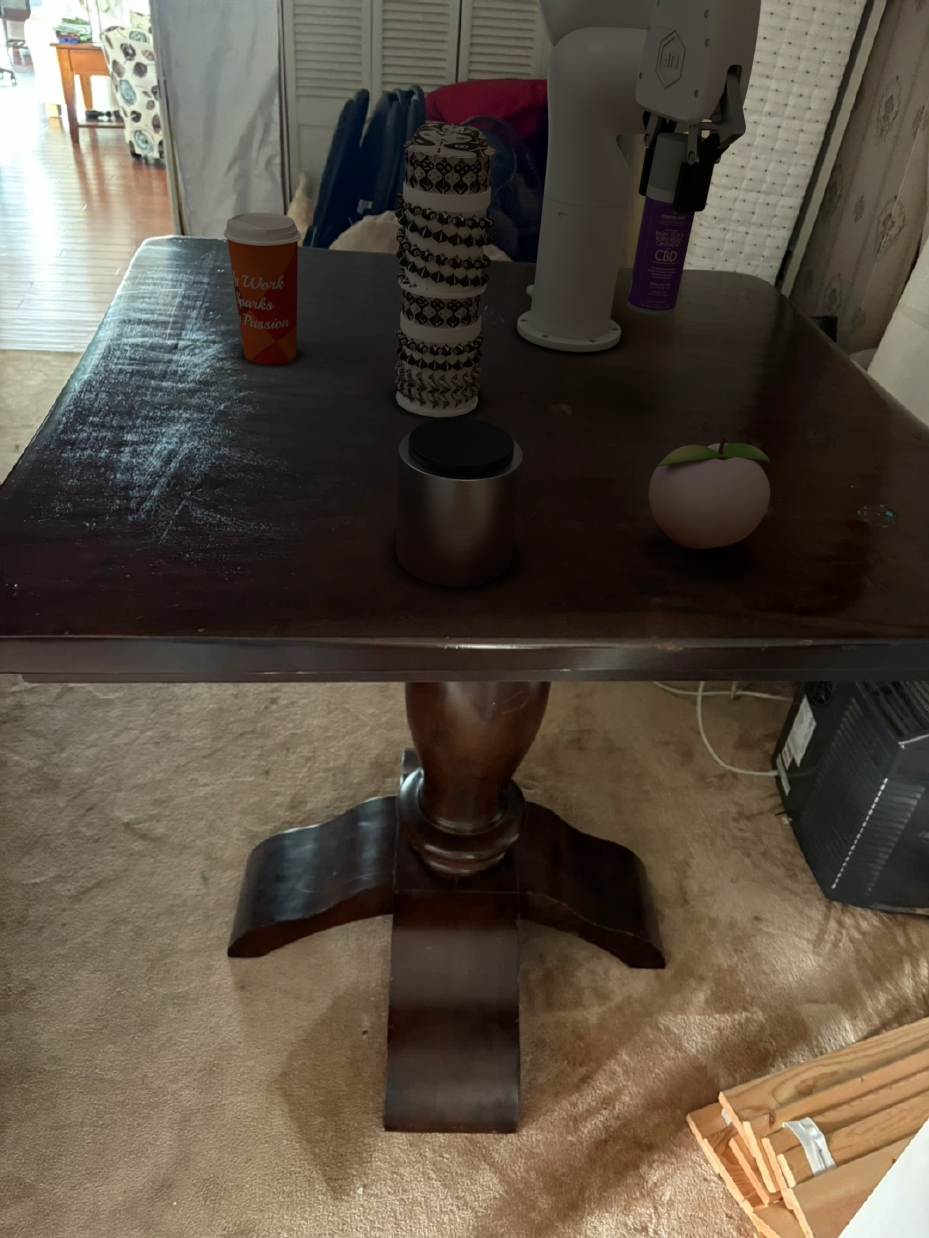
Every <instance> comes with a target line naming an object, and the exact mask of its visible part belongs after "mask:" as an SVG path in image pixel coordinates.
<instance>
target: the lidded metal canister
mask: <svg viewBox="0 0 929 1238" xmlns="http://www.w3.org/2000/svg"><path fill="white" fill-rule="evenodd" d="M397 457H398V460H397V461H398V462H397V500H396V501H397V503H396V504H397V506H396V507H397V508H396V547H395V548H396V551H395V552H396V558H397V561H398V562H399V564H400V566H401V567H402V568H403V570H405V571H406V572H407V573H408V574H410V575H411V576H413V577H415V578H417V579H418V580H421V581H423V582H425V583H428V584H429V583H430V584H432V585H437V586H441V587H447V588H450V587H451V588H469V587H476V586H480V585H484V584H488V583H490V582H492V581H495V580H497V579H498V578H499V577H501V576H502V575H504V574H505V573H506V572H507V570H508V569H509V568H510V565H511V563H512V560H513V559H512V558H513V549H514V541H515V533H516V522H517V515H518V514H517V513H518V505H519V495H520V488H521V478H522V469H523V461H524V452H523V450H522V448H521V446H520V444H518V442H517V441H515V439H513V437H512V436H511V434H510V433H509V432H508V431H506V429H504V428H502V427H500V426H498V425H496V424H494V423H491V422H489V421H484V420H482V419H476V418H472V417H471V418H469V417H461V416H459V417H458V416H454V417H439V418H435V419H431V420H427V421H424V422H422V423H420V424H419V425H417V426H415V427H414V428H413V429H412V430H411V431H410V432H409V433H408V434H406V435H405V436H403V438H402V439H401V440H400V442H399V444H398V456H397Z"/></svg>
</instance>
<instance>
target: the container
mask: <svg viewBox="0 0 929 1238" xmlns="http://www.w3.org/2000/svg"><path fill="white" fill-rule="evenodd" d="M706 138H707V137H704V136H702V141H701V143H702V142H703V141H704V140H705V139H706ZM687 148H688V133H687V132H685V133H675V132H666V133H660V134H658V137H657V142H656V147H655V152H654V157H653V162H652V167H651V172H650V177H649V182H648V187H647V192H646V196H644V202H643V203H644V204H643V209H642V215H641V220H640V225H639V230H638V231H639V232H638V238H637V243H636V249H635V255H634V260H633V261H634V262H633V266H632V271H631V276H630V282H629V287H628V294H627V301H626V306H627V307H628V309H629V310H631V311H633V312H635V313H638V314H642V315H645V316H652V317H664V316H669V315H671V314H674V312H675V309H676V305H677V300H678V295H679V291H680V285H681V282H682V276H683V272H684V267H685V262H686V257H687V253H688V248H689V242H690V238H691V233H692V229H693V225H694V219H695V214H696V212H684V213H677V212H675V211H674V210H673V201H674V196H675V191H676V186H677V181H678V176H679V171H680V166H681V162H687Z"/></svg>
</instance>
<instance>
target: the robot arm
mask: <svg viewBox="0 0 929 1238" xmlns="http://www.w3.org/2000/svg"><path fill="white" fill-rule="evenodd" d="M536 2H537V6H538V10H539V14H540V18H541V22H542V24H543V28H544V31H545V34H546V36H547V38H548V40H549V42H550V44H551V45H552V47H553V49H552V51H551V54H550V57H549V61H548V65H547V74H546V75H547V76H546V87H547V88H546V91H547V92H546V93H547V112H548V113H547V116H548V119H547V121H548V136H547V137H548V138H547V139H548V140H547V158H546V167H545V168H546V169H545V178H544V179H545V180H544V188H543V189H544V190H543V200H542V209H541V219H540V220H541V221H540V228H539V238H538V247H537V256H536V265H535V275H534V284H530V285H528V286H527V287H526V290H525V291H526V294H527V296H529V297H530V298H531V305H530V310H527V311H526V312H523V313H522V314H521V315H520V316H519V317H518V318H517V321H516V322H517V324H516V330H517V333H518V334H519V335H520V336H521V337H522V338H523V339H524V340H526V341H528V342H530V343H532V344H534V345H536V346H539V347H542V348H546V349H550V350H554V351H561V352H570V353H593V352H599V351H604V350H607V349H611V348H612V347H615V346H616V345H617V344H618V343H619V342H620V339H621V335H622V328H621V327H620V325H619V324H618V323H617V322H616V321H615V320H613V319H611V316H612V309H613V302H614V297H615V291H616V283H617V278H618V274H619V273H618V272H619V266H620V260H621V255H622V248H623V241H624V235H625V229H626V222H627V216H628V211H629V203H630V197H631V190H632V177H631V171H630V169H629V166H628V165H629V164H628V163H627V160H626V159H625V157H624V155H623V153H622V151H621V150H620V147H619V145H618V142H617V137H618V136H623V135H643V139H642V140H643V145H644V147H646V148H645V152H644V156H643V157H644V158H643V162H642V163H643V164H642V169H641V175H640V181H639V186H638V195H640V196H642V197H646V192H647V187H648V182H649V177H650V172H651V167H652V162H653V157H654V152H655V147H656V142H657V137H658V134H660V133H666V132H675V133H687V134H688V148H687V162H681V166H680V171H679V176H678V181H677V186H676V191H675V196H674V201H673V210H674V211H675V212H677V213H684V212H695V213H699V212H700V213H701V212H703V211H704V210H705V209H706V206H707V201H708V198H709V197H708V196H709V192H710V186H711V183H712V178H713V174H714V169H715V165H718V164H720V162H721V160H722V155H723V154H724V153H725V152H727V150H728V149H729V148H730V146H731V145H732V144H734V143H735V142H736V141H738V140H739V139H740V138H741V137H743V136H744V135H745V133H746V131H747V124H746V123H747V122H746V118H745V112H744V106H745V105H744V104H745V101H746V98H747V95H748V94H747V93H748V90H749V86H750V80H751V75H752V71H753V65H754V60H755V54H756V48H757V43H758V35H759V27H760V19H761V9H762V0H536ZM704 120H706V121H704ZM707 120H709V121H707ZM708 131H709V132H708ZM703 132H708V135H707V136H706V137H705V138H706V139H705V140H704V141H703V142H702V143H701V141H702V137H703Z"/></svg>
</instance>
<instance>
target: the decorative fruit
mask: <svg viewBox="0 0 929 1238" xmlns="http://www.w3.org/2000/svg"><path fill="white" fill-rule="evenodd" d="M759 461H763V462H765V463H767V464H771V460H770V458H769V457H768V455H767V454H766V453H764V451H762V450H761V449H760V448H758V447H756V446H754V445H751V444H748V443H742V442H734V443H733V442H731V443H727V435H725V434H723V435H722V436H721V438H720V442H718V443H713V444H710V445H707V446H705V445H700V444H687V445H684V446H680V447H678V448H677V449H673V451H671V452H670V453H668V454H667V455H666V456H665V457H664V458H663V459H662V460H661V461H660V463H658V465H657V466H656V468H655V469H654V471H653V473H652V475H651V477H650V481H649V484H648V504H649V508H650V512H651V514H652V516H653V518H654V520H655V522H656V524H657V526H658V527H659V529H661V531H662V532H663V533H664V534H665V535H666V536H667V537H668V538H669V539H670V540H671V541H673V542H674V543H676V544H678V545H680V546H682V547H685V548H689V549H693V550H705V549H706V550H707V549H713V548H721V547H722V548H723V547H727V546H730V545H734V544H736V543H738V542H740V541H743V540H745V539H746V538H747V537H748V536H750V535H751V534H752V533H753V532H754V531H755V529H756V528H757V527H758V525H759V524H760V523H761V522H762V520H763V518H764V516H765V514H766V512H767V510H768V507H769V504H770V500H771V486H770V481H769V479H768V476H767V474H766V472H765V471H764V468H763V467H762V465H761V464H760V462H759Z"/></svg>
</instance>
